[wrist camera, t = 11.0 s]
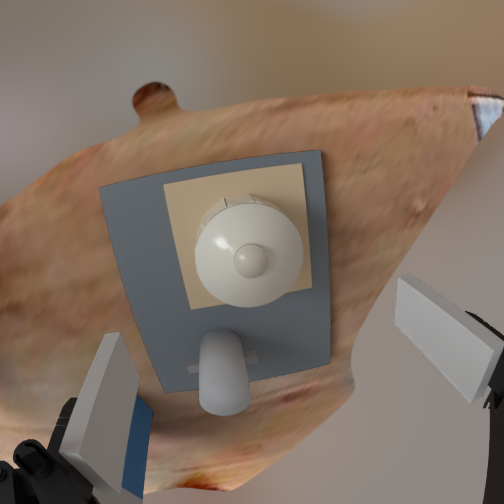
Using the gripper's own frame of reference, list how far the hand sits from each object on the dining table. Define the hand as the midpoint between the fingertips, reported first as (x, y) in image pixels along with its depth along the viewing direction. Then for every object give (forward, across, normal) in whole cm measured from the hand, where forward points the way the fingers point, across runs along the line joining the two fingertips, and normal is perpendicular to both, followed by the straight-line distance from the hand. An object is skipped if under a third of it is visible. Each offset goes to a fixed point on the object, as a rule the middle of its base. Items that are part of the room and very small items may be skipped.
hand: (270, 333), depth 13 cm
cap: (+15, +1, 0) cm, 15 cm away
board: (+16, -1, -5) cm, 17 cm away
